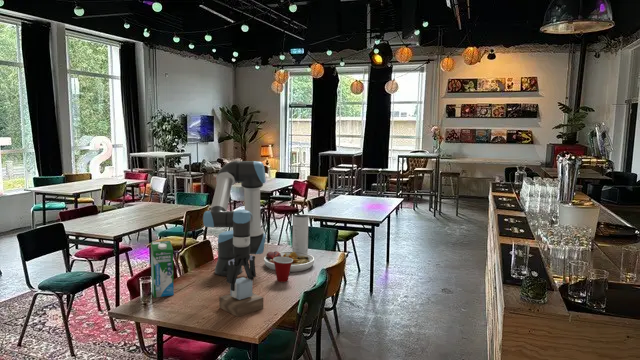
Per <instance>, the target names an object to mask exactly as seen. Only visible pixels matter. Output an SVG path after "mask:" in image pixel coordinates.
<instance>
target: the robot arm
mask: <svg viewBox="0 0 640 360" xmlns="http://www.w3.org/2000/svg"><path fill="white" fill-rule="evenodd" d="M266 180H267V179H266V170H265V164H264V163H263V162H262V161H256V160H242V161H241V160H234V161H230V162H228V163H226V164H224V165H223V166H222V167H221V168H220V169H219V171H218V172H217V174H216V179H215V181H216V182H215V183H216V186H215V190H214V195H213V198H212V201H211V202H212V203H211V206H210V210H205V211H204V212H203V218H202V221H203V226H204V227H205V228H232V230H226V231H223V232H220V233H219V234H218V236H217V261H216V265H215V268H214V274H215V275H218V276H221V277H226V283H228V284H229V285H230V284H231V290H232V297H234V298H237V283H235V282H236V279H238V275H239V274H242V273H243V268H244V270H245V271H244V272H245V275H246V277H247V278H246V279H249V280H251V281H252V282H253V280H254V278H255V277H257V271H256V261H255V260H256V255H261V254H263V253H264V251H265V244H266V235H267V234H266V233H264V230H263V228H261V227H262V226H261V225H262V224H261V189H262V188H263V186H264V184H265V183H266ZM235 183H237V184H238V183H239V184H241V185H240V186H241V188H243V189H244V190H243V192H244V199H243V200H244V209H237V210H232V211H231V210H229V211H228V207H229V201H230V198H231V197H230V196H231V191H232V186H234V184H235Z"/></svg>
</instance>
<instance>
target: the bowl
mask: <svg viewBox="0 0 640 360" xmlns="http://www.w3.org/2000/svg"><path fill="white" fill-rule="evenodd" d="M275 257H288V258H291V259H293V262H292V264H291V267H290V273H295V272H296V273H297V272H303V271H305V270H308V269H310V268H312V266H313V265H314V263H315V257H314V256H313V255H311V254H309V253H308V254H306V253H300V252H292V251H278V250H275V251H268V252H267V253H266V255H265V256H264V257H263V263H264V265H265V267H267V268H268V269H270V270H272V271H275V272H276V270H275V264H274V260H273V258H275Z"/></svg>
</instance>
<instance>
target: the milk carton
mask: <svg viewBox="0 0 640 360" xmlns="http://www.w3.org/2000/svg"><path fill="white" fill-rule="evenodd" d="M150 269H151V272H150V273H151V277H150V279H151V278H152V284H151V294H152V296H153V299H156V298H162V297H168V296H169V297H170V296H174V293H175V290H174V287H175V286H174V284H175V283H174V249H173V245H172V242H171V240H165V241H152V242H150Z"/></svg>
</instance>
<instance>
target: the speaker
mask: <svg viewBox="0 0 640 360" xmlns="http://www.w3.org/2000/svg"><path fill="white" fill-rule="evenodd" d="M309 219H310V217H309V215H307V214H293V216H292V244H291V245H292V246H291V247H292V249H291V250H292V251H291V252H300V253H306V254H309V248H308V247H309Z"/></svg>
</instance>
